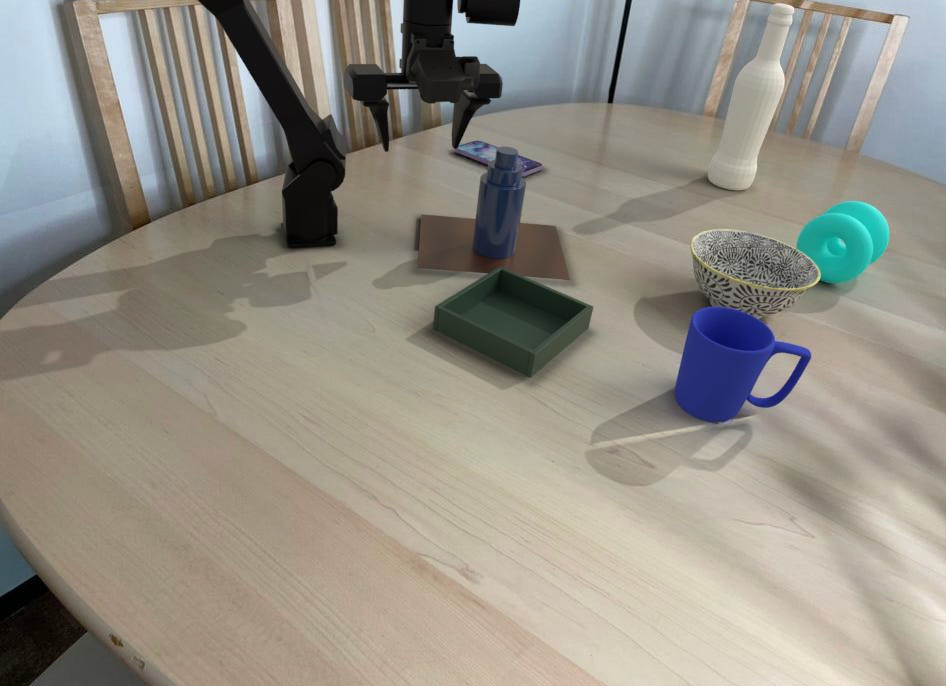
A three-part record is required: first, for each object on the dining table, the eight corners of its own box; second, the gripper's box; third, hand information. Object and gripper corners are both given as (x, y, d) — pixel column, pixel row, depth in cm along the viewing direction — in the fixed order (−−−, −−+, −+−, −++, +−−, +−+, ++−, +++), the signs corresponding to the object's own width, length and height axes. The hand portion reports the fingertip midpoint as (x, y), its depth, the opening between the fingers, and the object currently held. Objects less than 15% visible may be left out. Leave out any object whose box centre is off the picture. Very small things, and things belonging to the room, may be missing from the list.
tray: (432, 332, 85) (434, 306, 83) (496, 290, 94) (500, 265, 92) (529, 381, 79) (535, 354, 77) (587, 331, 89) (593, 306, 86)
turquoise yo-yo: (783, 268, 108) (808, 205, 103) (809, 249, 115) (834, 189, 109) (851, 297, 103) (881, 232, 97) (875, 275, 110) (904, 213, 104)
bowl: (714, 265, 107) (730, 217, 102) (819, 315, 98) (842, 265, 94) (652, 299, 97) (666, 247, 92) (763, 357, 88) (785, 303, 84)
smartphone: (477, 139, 137) (545, 164, 130) (476, 144, 137) (544, 169, 130) (452, 147, 131) (521, 173, 125) (451, 152, 132) (520, 178, 125)
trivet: (417, 271, 96) (417, 267, 96) (421, 217, 109) (421, 214, 109) (569, 283, 98) (570, 279, 97) (555, 229, 111) (555, 225, 111)
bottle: (755, 183, 136) (816, 7, 119) (744, 196, 130) (805, 12, 113) (713, 170, 139) (765, -3, 122) (699, 182, 133) (753, 2, 116)
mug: (786, 447, 75) (823, 368, 69) (666, 422, 76) (693, 342, 70) (775, 398, 81) (808, 322, 76) (665, 375, 83) (689, 299, 77)
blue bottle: (501, 263, 99) (515, 163, 91) (463, 248, 101) (474, 149, 93) (523, 248, 103) (539, 151, 95) (487, 234, 106) (499, 138, 98)
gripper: (364, 36, 78) (363, 177, 87) (527, 38, 84) (511, 170, 93) (342, 12, 86) (343, 143, 95) (492, 15, 92) (480, 138, 101)
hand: (420, 149), depth 96 cm, fingers open, 9 cm apart
